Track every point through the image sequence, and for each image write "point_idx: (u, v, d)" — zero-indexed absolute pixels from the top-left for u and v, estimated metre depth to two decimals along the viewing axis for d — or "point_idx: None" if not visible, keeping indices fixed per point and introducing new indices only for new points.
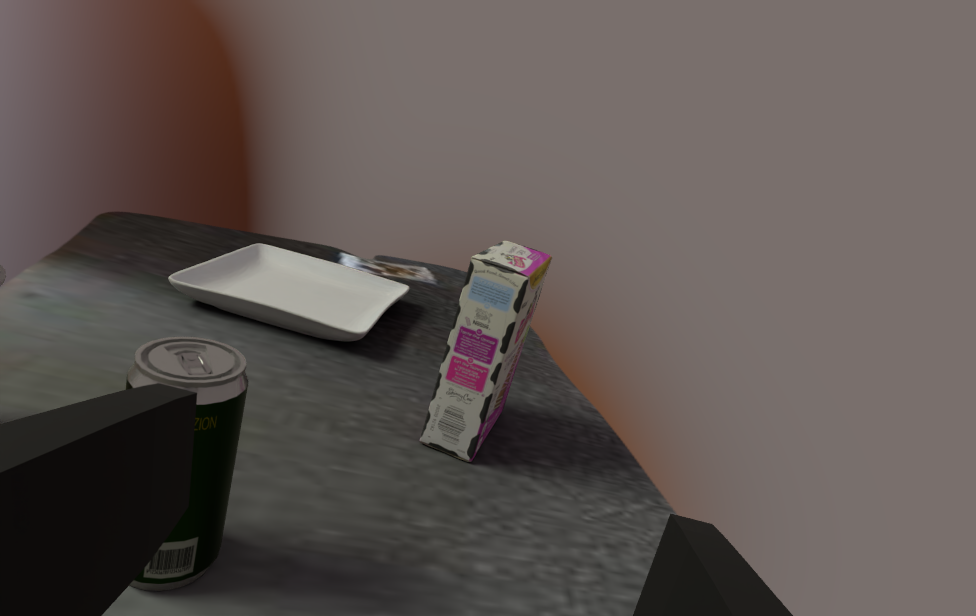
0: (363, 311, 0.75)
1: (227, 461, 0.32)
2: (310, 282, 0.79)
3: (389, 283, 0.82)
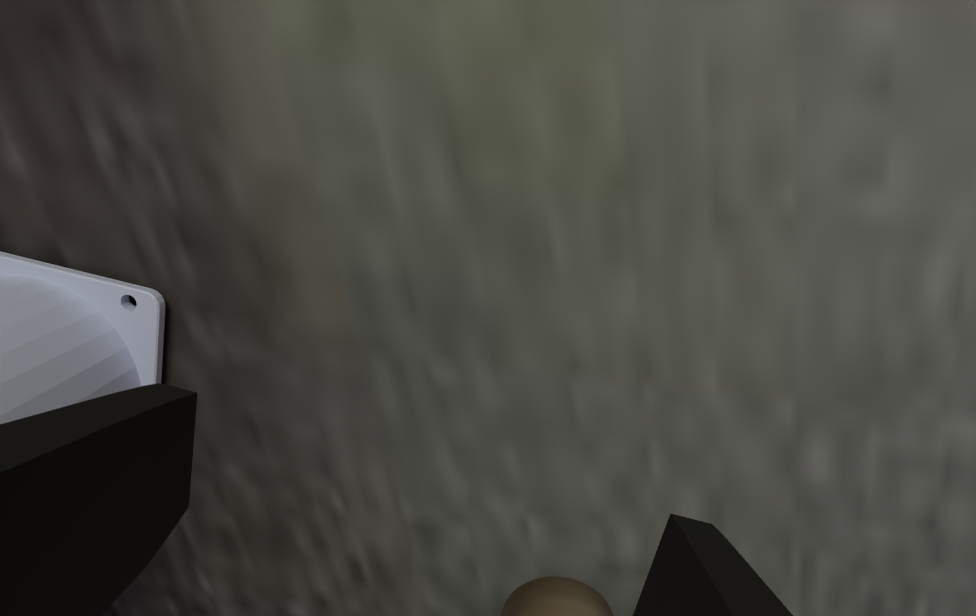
0: None
1: None
2: None
3: None
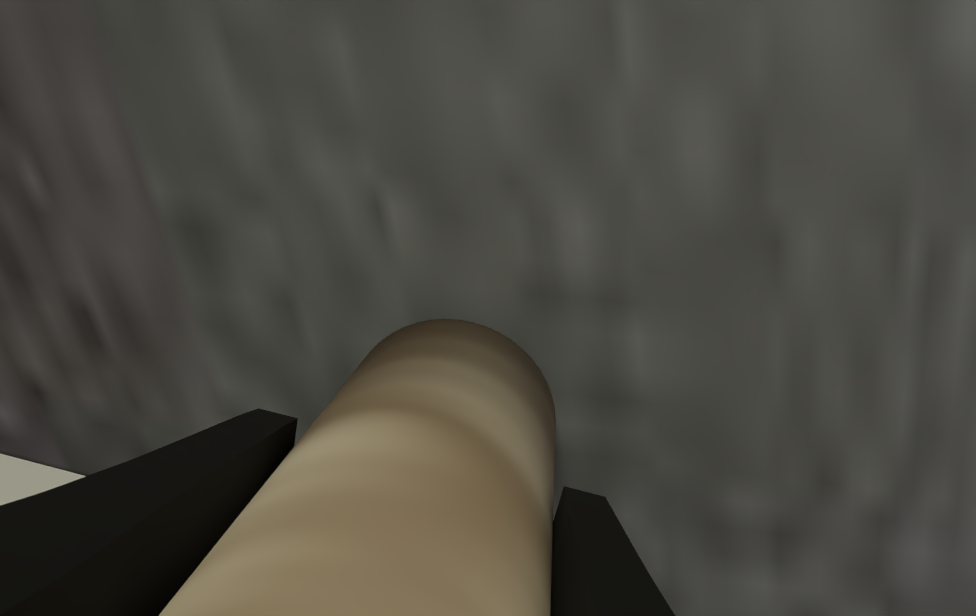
0: None
1: None
2: None
3: None
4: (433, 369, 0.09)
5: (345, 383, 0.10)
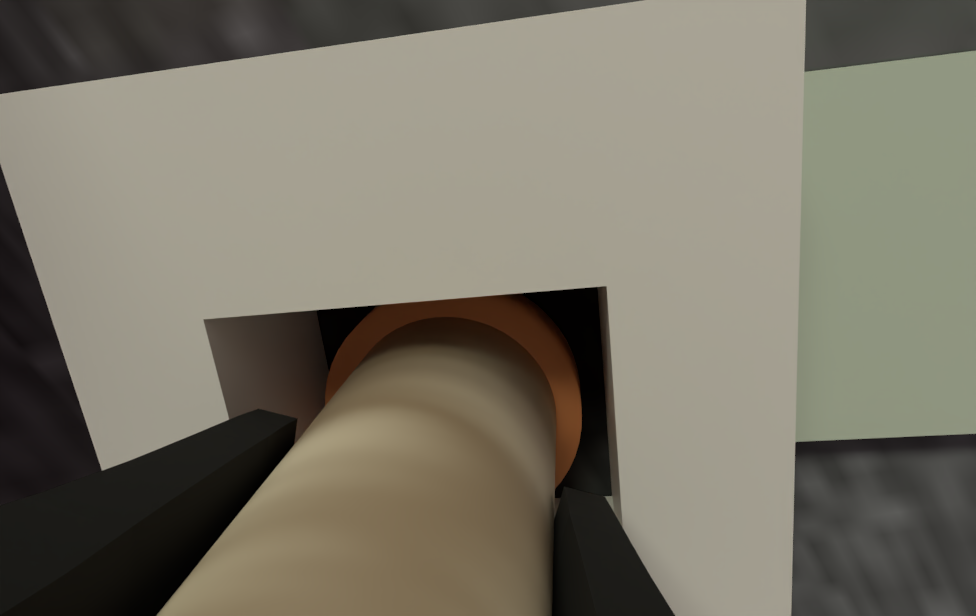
0: None
1: None
2: None
3: None
4: (440, 367, 0.09)
5: (349, 377, 0.10)
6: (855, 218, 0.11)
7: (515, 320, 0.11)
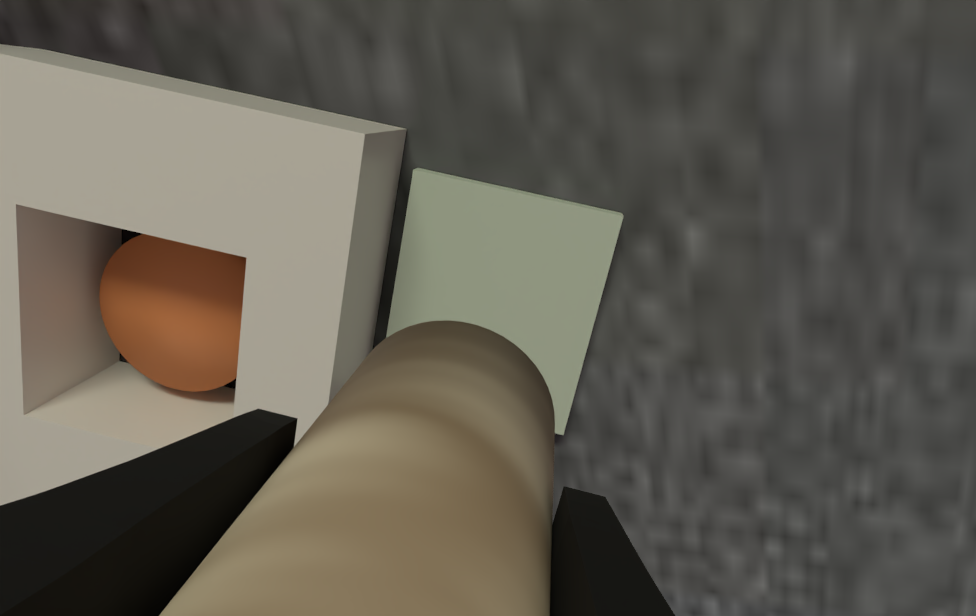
0: None
1: None
2: None
3: None
4: (440, 372, 0.09)
5: (348, 380, 0.10)
6: (451, 269, 0.18)
7: (230, 265, 0.18)
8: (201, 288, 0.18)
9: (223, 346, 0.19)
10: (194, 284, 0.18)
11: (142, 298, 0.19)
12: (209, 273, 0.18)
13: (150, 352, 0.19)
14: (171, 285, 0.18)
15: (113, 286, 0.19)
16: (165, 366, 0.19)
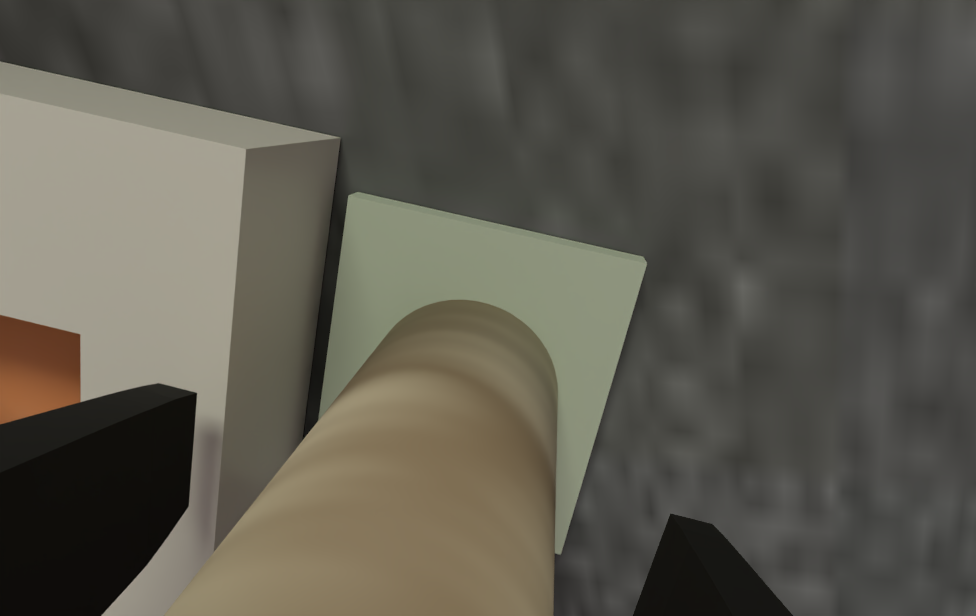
0: None
1: None
2: None
3: None
4: (457, 340, 0.11)
5: (375, 351, 0.12)
6: None
7: None
8: (54, 359, 0.13)
9: None
10: (44, 354, 0.13)
11: None
12: (64, 339, 0.13)
13: None
14: (13, 355, 0.13)
15: None
16: None
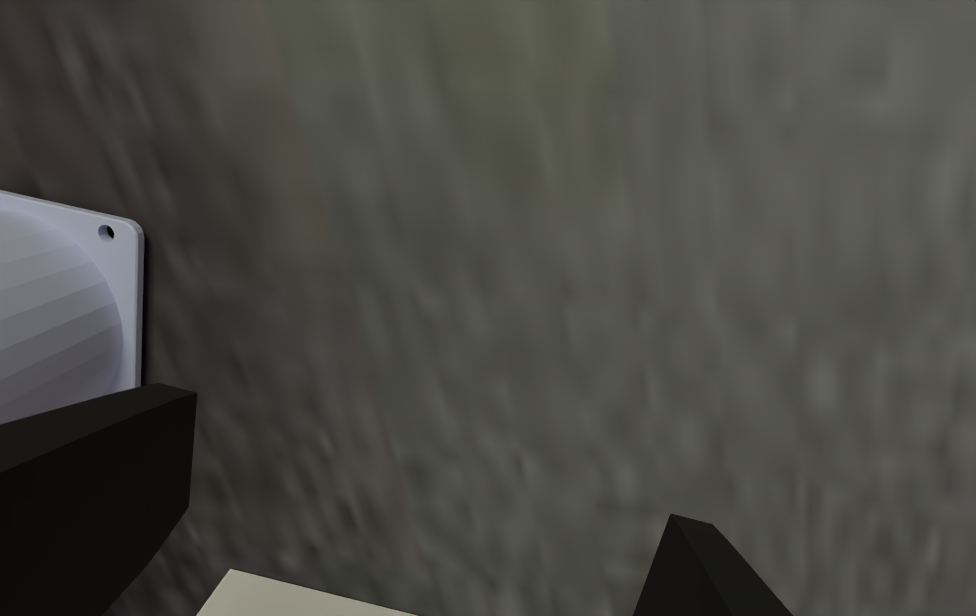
0: None
1: None
2: None
3: None
4: None
5: None
6: None
7: None
8: None
9: None
10: None
11: None
12: None
13: None
14: None
15: None
16: None
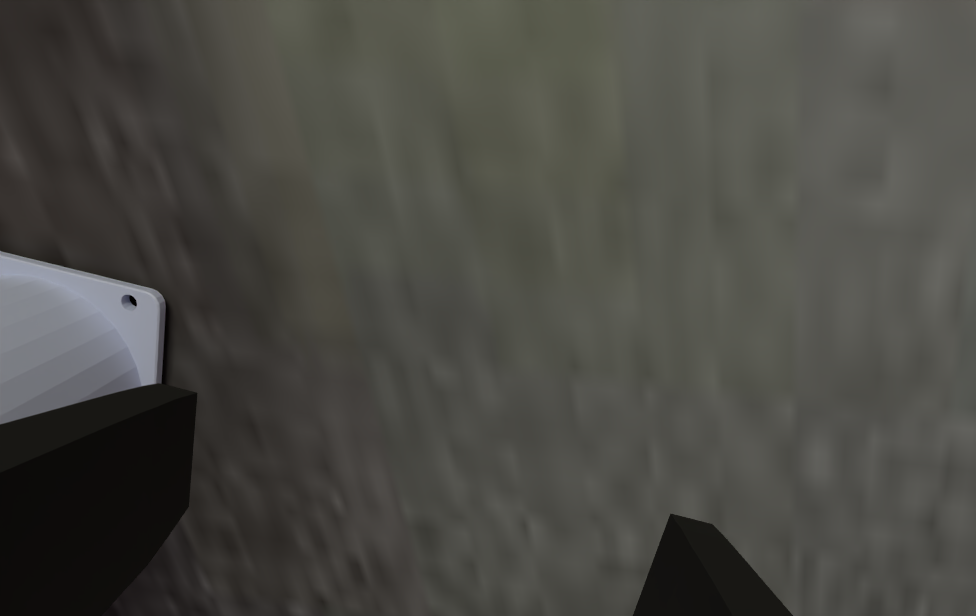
0: None
1: None
2: None
3: None
4: None
5: None
6: None
7: None
8: None
9: None
10: None
11: None
12: None
13: None
14: None
15: None
16: None
